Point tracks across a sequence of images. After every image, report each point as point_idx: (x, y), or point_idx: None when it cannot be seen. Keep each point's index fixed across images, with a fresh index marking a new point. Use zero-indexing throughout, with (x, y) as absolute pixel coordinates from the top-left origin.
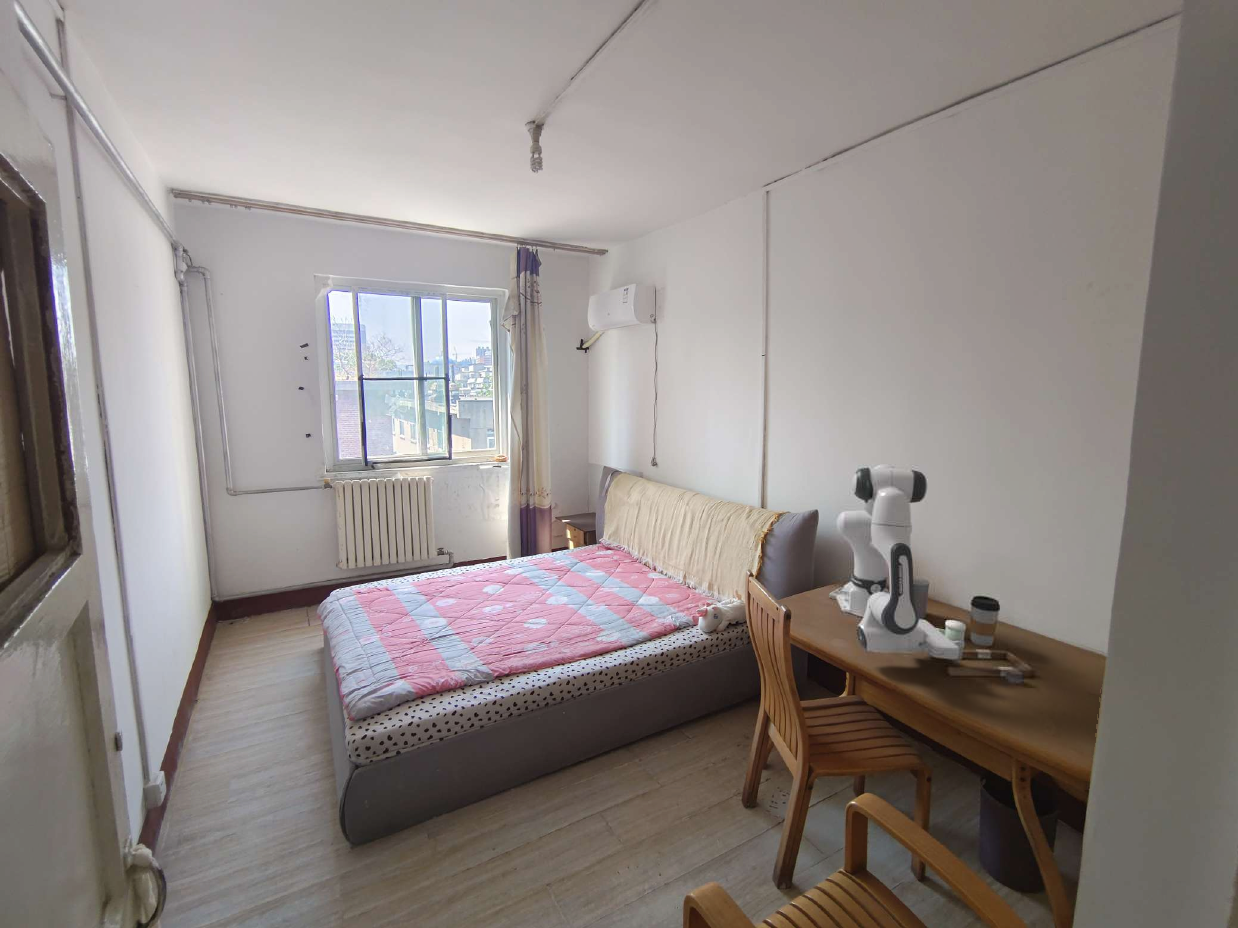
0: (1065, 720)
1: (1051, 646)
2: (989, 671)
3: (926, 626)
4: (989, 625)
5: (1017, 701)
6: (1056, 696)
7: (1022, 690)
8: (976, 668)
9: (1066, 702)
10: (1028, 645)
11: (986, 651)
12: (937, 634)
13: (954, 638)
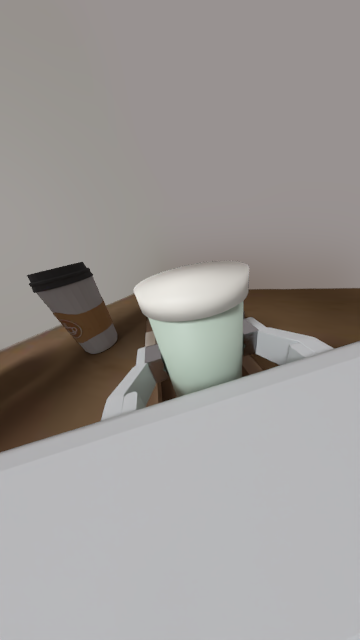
0: (328, 296)
1: (128, 302)
2: None
3: (66, 556)
4: (102, 306)
5: (323, 325)
6: (252, 300)
7: (262, 319)
8: (243, 356)
9: (262, 296)
10: (123, 312)
11: (152, 335)
12: (317, 435)
13: (242, 337)
